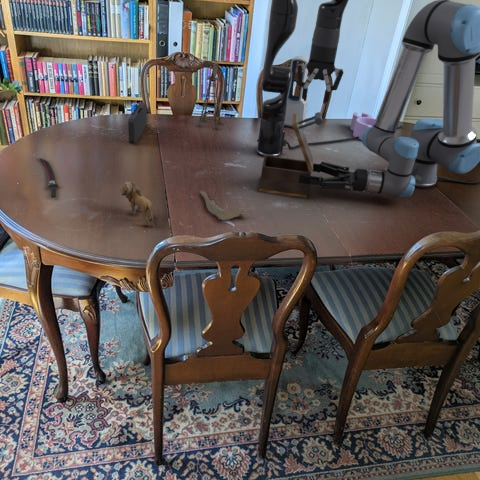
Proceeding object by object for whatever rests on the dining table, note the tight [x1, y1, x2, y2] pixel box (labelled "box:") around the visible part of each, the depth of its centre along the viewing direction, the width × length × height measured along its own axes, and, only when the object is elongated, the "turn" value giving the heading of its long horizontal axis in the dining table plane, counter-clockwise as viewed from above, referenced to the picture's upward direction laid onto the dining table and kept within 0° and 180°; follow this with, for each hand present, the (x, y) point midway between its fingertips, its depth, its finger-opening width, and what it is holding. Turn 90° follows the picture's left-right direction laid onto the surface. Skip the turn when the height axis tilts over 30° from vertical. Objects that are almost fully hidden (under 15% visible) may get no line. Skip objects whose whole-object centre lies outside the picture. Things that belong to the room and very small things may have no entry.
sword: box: [40, 158, 59, 198], centre depth 151 cm, size 31×3×1 cm, turn 26°
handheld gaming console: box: [127, 102, 148, 144], centre depth 187 cm, size 23×3×10 cm, turn 178°
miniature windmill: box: [198, 54, 222, 130], centre depth 199 cm, size 9×8×30 cm
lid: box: [292, 111, 323, 173], centre depth 150 cm, size 17×10×9 cm
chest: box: [258, 155, 312, 199], centre depth 158 cm, size 16×10×9 cm, turn 83°
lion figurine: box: [119, 181, 159, 227], centre depth 134 cm, size 15×5×9 cm, turn 50°
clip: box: [349, 112, 376, 141], centre depth 214 cm, size 20×12×7 cm, turn 11°
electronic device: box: [284, 55, 310, 128], centre depth 209 cm, size 12×8×30 cm, turn 71°
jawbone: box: [199, 190, 251, 222], centre depth 143 cm, size 9×20×2 cm, turn 50°
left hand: (314, 101), depth 144 cm, fingers open, 5 cm apart
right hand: (299, 171), depth 157 cm, fingers closed on chest, 10 cm apart
